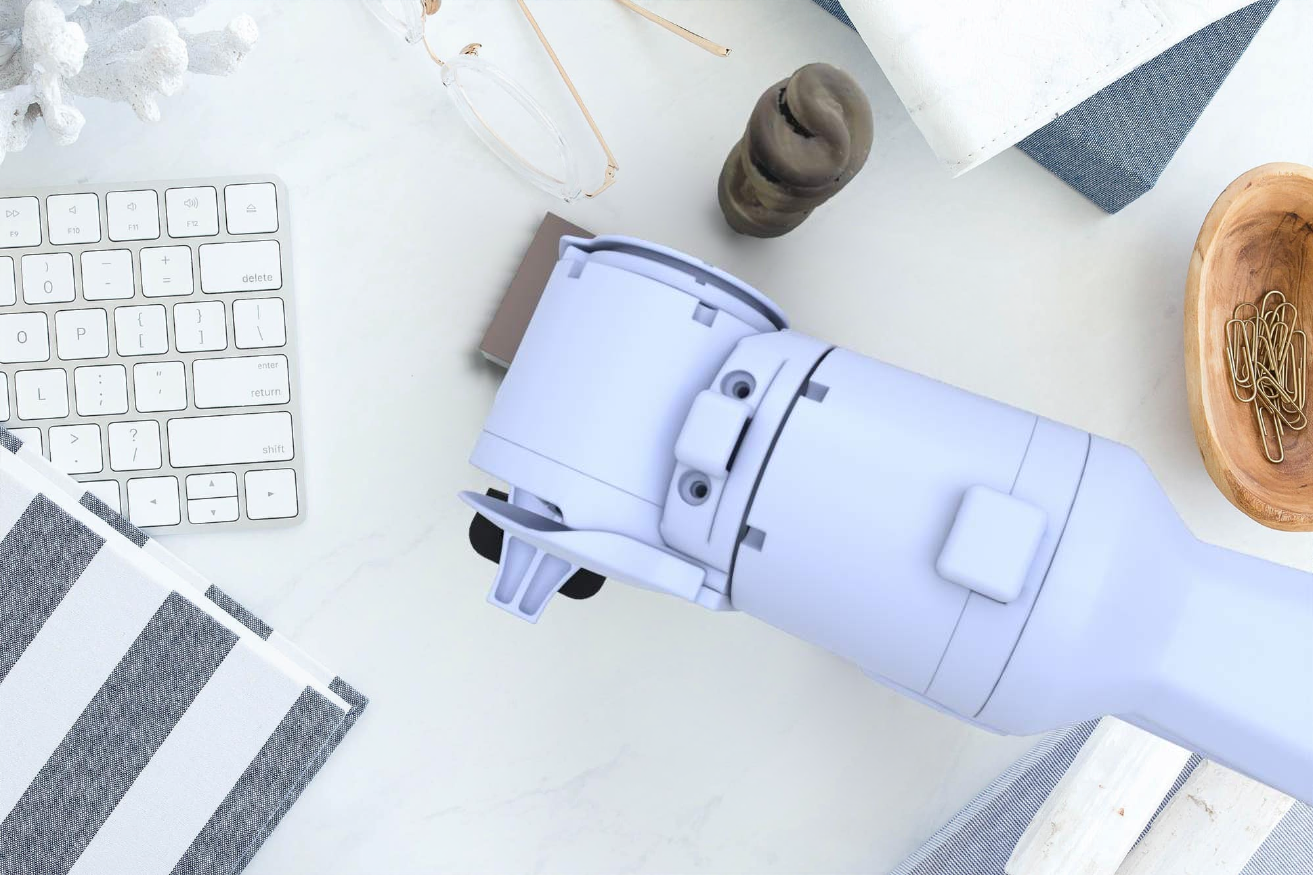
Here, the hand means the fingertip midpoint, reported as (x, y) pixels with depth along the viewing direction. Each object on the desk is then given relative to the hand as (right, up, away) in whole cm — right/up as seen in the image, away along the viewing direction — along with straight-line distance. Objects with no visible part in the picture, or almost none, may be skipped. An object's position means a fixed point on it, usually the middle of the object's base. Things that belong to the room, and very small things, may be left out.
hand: (590, 437), depth 42 cm
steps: (+4, +4, +10) cm, 11 cm away
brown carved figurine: (+8, +13, +11) cm, 19 cm away
